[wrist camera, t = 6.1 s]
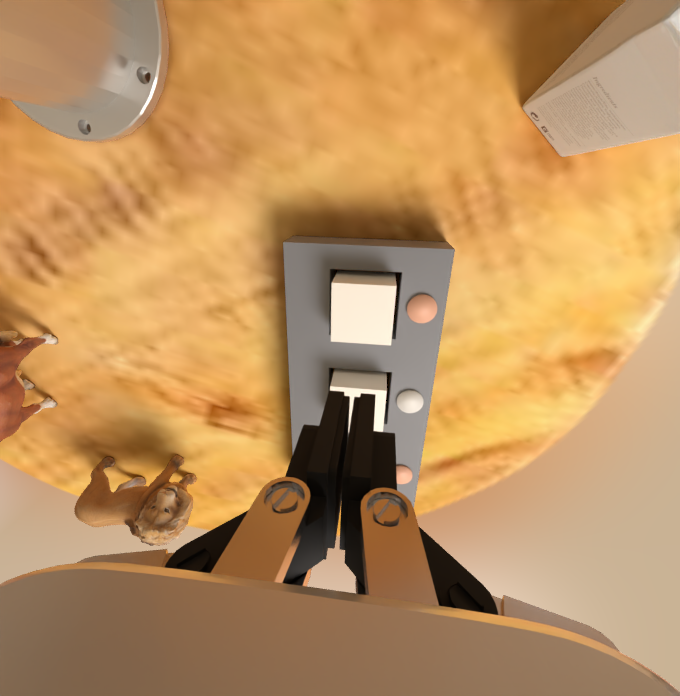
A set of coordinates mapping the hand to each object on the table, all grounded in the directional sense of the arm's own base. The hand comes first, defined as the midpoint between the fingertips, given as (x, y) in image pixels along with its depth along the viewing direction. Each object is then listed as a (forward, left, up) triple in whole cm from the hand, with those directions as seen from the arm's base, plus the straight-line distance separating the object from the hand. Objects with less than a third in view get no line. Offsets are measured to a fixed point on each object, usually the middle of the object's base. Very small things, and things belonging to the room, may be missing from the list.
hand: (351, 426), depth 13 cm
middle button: (+7, 0, -15) cm, 16 cm away
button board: (+7, 0, -16) cm, 18 cm away
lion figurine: (+20, -21, -16) cm, 33 cm away
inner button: (0, 0, -15) cm, 15 cm away
